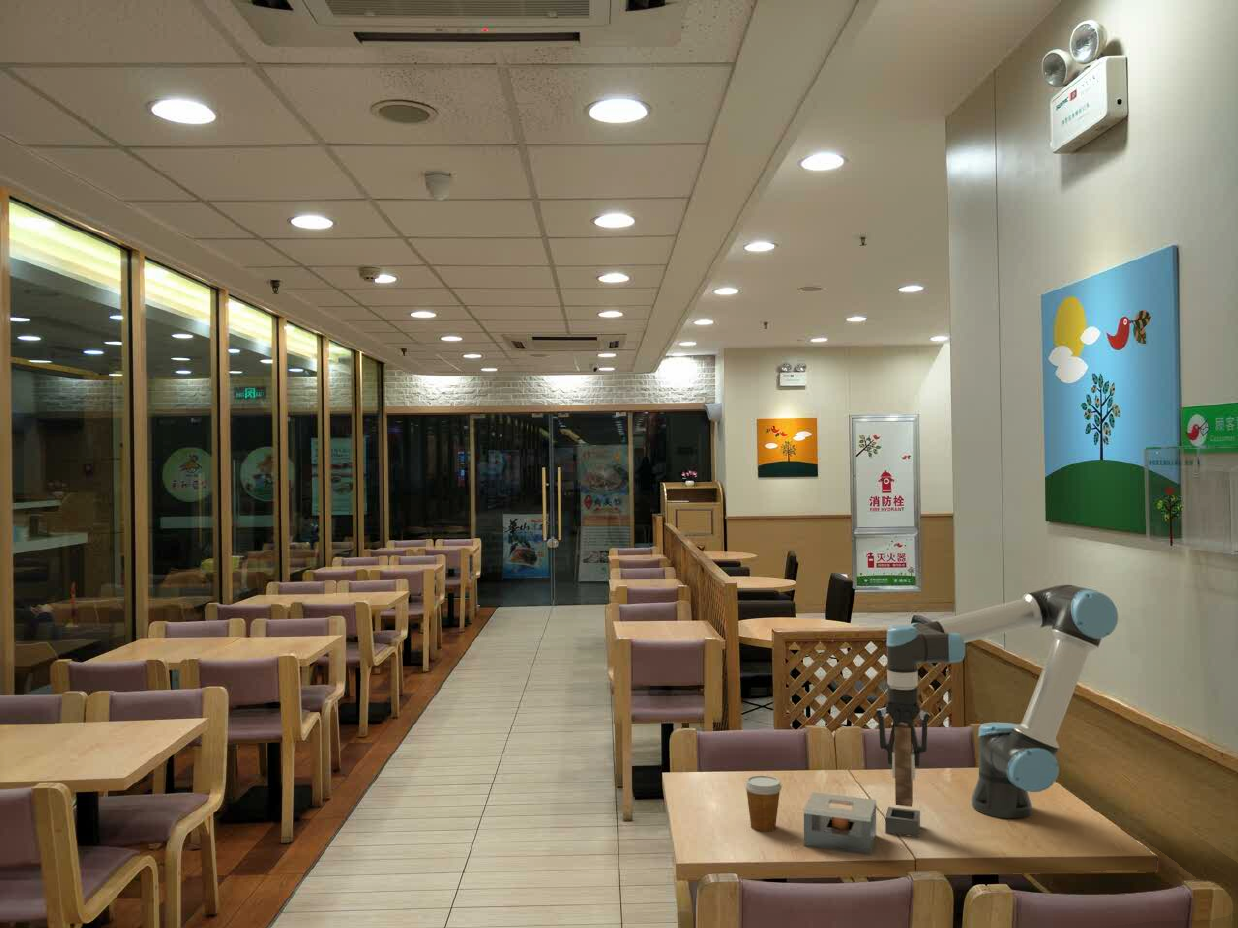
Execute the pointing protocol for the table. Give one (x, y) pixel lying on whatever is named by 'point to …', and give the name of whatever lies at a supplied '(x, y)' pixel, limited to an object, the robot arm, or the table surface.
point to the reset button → (840, 823)
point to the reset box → (840, 839)
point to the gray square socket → (902, 821)
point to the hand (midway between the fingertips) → (903, 777)
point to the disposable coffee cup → (763, 801)
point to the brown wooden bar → (903, 765)
